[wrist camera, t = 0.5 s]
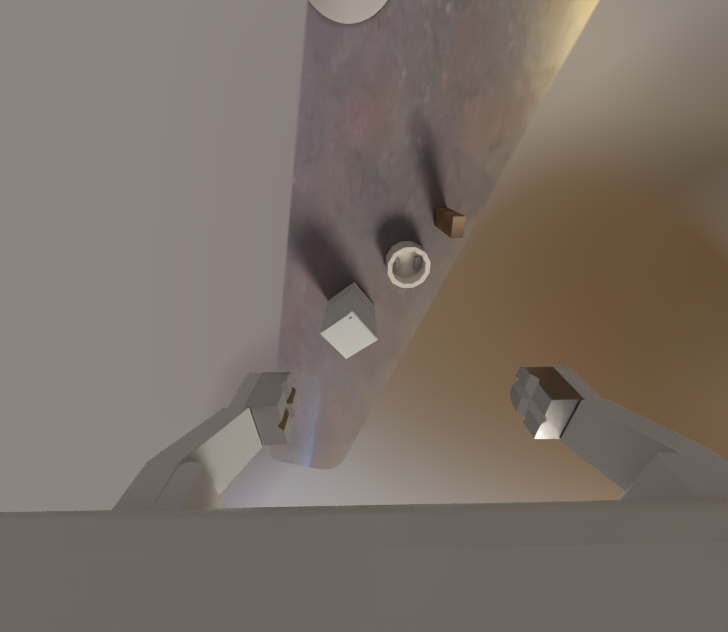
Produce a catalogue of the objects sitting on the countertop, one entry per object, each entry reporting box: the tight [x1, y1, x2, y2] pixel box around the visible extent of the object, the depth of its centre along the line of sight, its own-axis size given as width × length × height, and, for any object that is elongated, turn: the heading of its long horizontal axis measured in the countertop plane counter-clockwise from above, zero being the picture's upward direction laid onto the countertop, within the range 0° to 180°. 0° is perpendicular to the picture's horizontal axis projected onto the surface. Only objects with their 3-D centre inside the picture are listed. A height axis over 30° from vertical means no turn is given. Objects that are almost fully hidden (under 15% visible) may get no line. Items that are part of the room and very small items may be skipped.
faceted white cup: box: [386, 241, 430, 288], centre depth 49 cm, size 8×8×4 cm
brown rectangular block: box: [435, 207, 466, 238], centre depth 43 cm, size 3×2×10 cm, turn 1°
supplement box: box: [320, 282, 378, 359], centre depth 50 cm, size 7×7×13 cm
